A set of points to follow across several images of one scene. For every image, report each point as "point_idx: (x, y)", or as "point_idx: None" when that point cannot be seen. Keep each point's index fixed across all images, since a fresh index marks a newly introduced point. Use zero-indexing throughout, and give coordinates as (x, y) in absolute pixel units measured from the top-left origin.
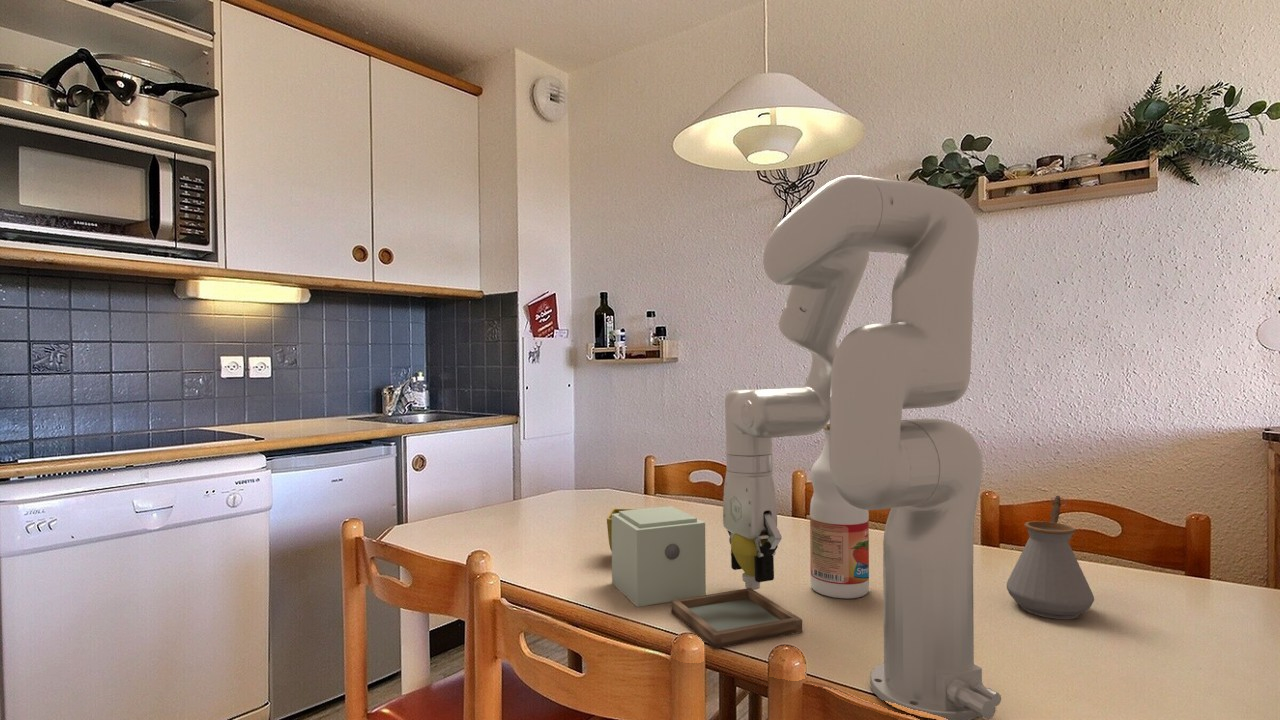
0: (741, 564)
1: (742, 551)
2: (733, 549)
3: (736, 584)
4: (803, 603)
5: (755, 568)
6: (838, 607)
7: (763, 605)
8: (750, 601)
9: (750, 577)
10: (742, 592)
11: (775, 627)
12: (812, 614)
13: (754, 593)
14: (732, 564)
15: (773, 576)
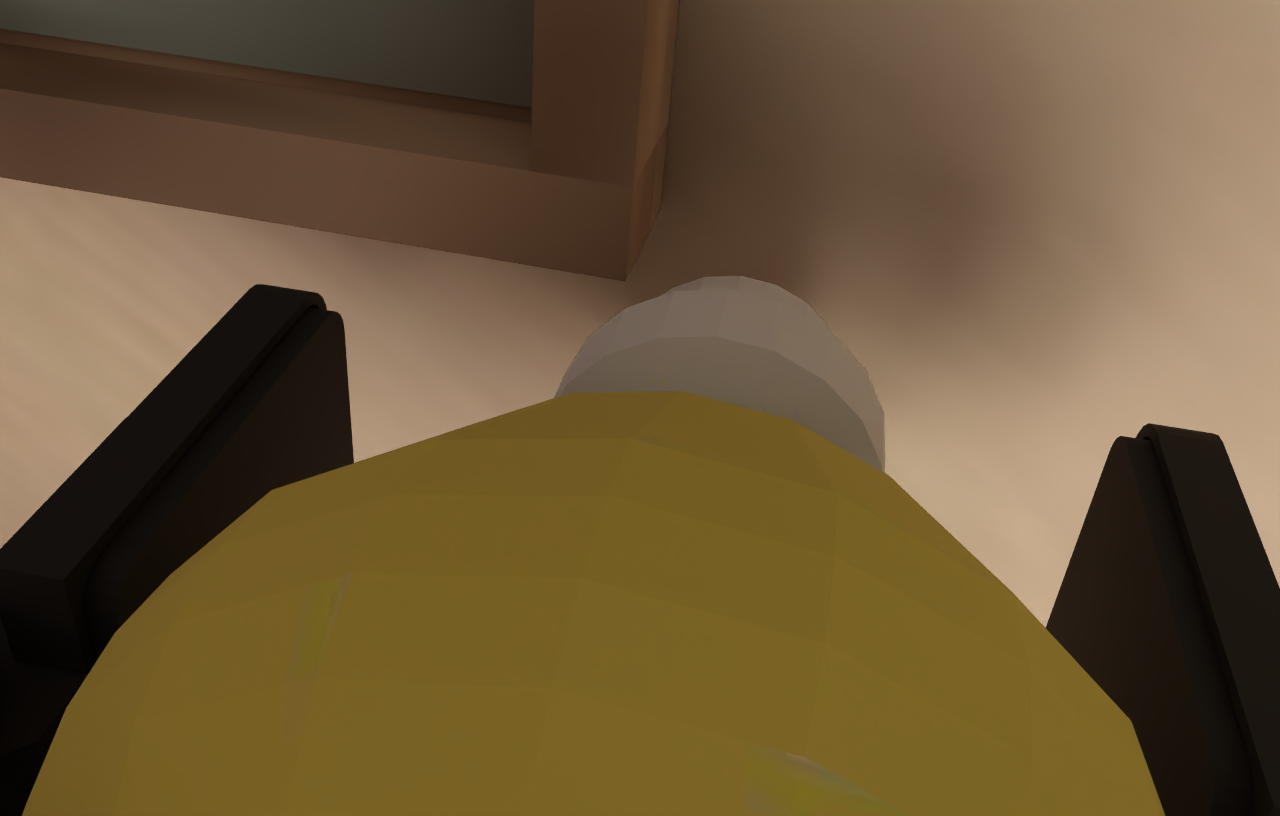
0: (622, 394)
1: (265, 523)
2: (664, 496)
3: (1275, 431)
4: None
5: (184, 407)
6: None
7: (140, 77)
8: (411, 57)
9: (595, 378)
10: (538, 60)
11: None
12: (20, 447)
13: (393, 179)
14: (1184, 473)
15: None
